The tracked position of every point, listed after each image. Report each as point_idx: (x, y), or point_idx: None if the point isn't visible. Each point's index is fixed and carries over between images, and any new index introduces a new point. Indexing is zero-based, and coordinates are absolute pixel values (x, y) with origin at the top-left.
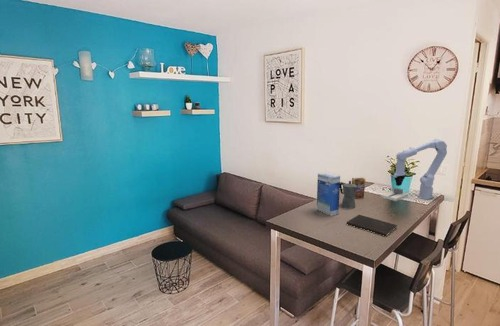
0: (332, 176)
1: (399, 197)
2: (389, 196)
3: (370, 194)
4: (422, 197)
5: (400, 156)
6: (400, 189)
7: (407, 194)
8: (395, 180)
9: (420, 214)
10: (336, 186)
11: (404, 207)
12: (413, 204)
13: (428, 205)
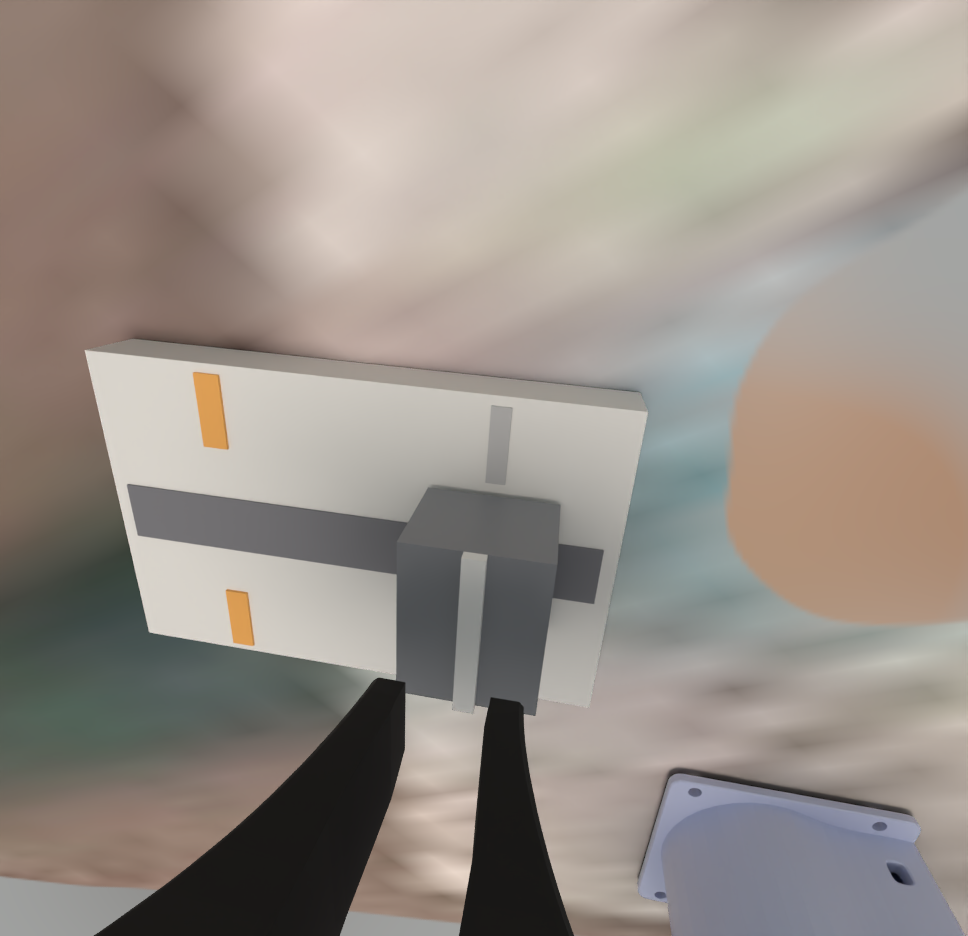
0: None
1: (273, 650)
2: (139, 519)
3: (63, 11)
4: (662, 851)
5: None
6: (456, 685)
7: (575, 702)
8: (230, 837)
9: (68, 871)
10: None
11: (84, 740)
12: None
13: (403, 900)
